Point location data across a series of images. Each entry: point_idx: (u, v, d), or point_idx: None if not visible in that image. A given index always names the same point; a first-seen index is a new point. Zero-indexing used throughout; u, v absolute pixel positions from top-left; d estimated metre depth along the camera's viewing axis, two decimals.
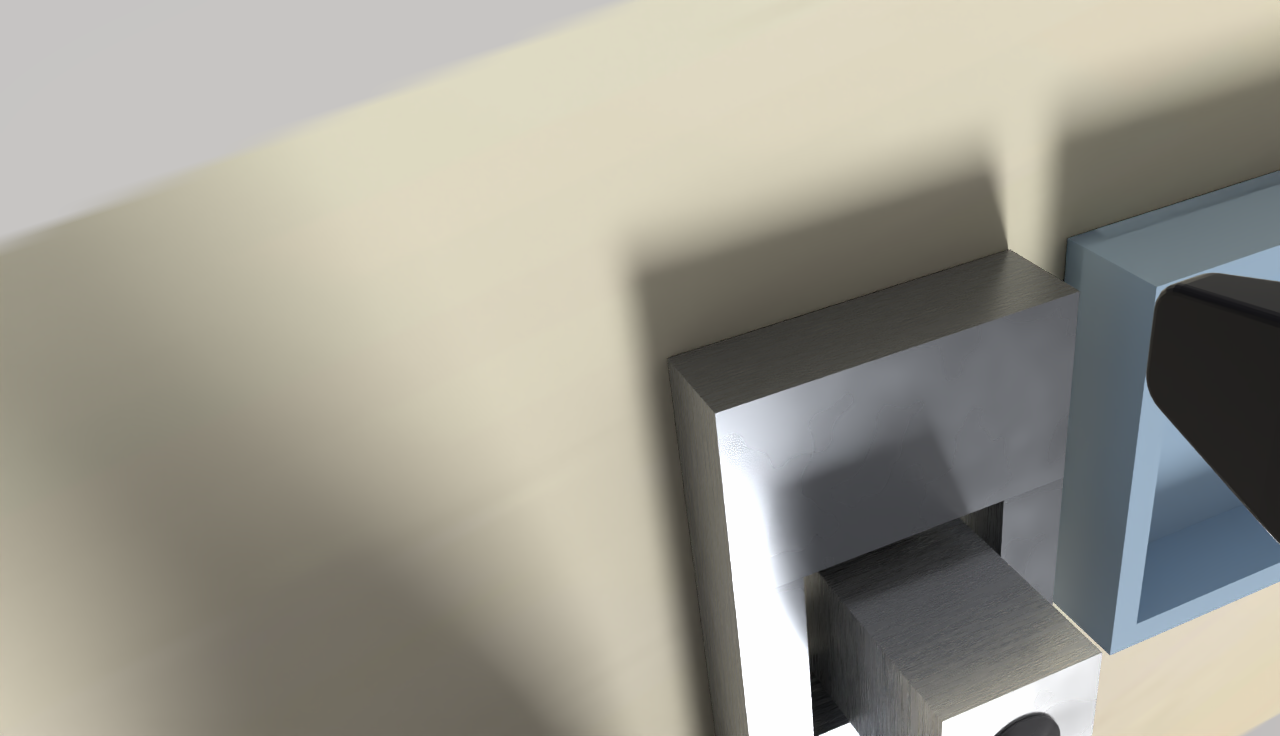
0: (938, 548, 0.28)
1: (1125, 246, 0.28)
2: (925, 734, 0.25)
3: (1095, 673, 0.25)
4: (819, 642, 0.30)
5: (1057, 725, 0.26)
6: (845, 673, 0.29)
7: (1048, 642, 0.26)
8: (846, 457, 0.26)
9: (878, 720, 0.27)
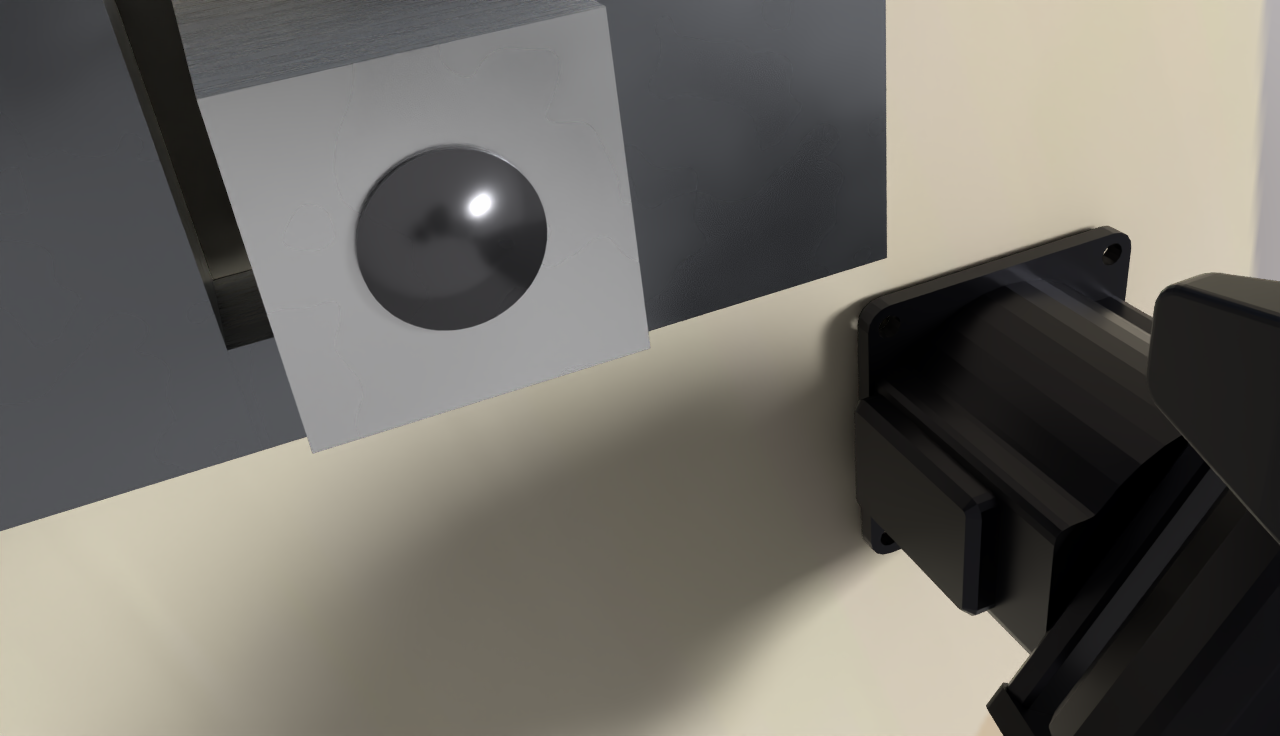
0: None
1: None
2: None
3: (264, 96, 0.11)
4: None
5: (402, 164, 0.12)
6: None
7: None
8: None
9: None
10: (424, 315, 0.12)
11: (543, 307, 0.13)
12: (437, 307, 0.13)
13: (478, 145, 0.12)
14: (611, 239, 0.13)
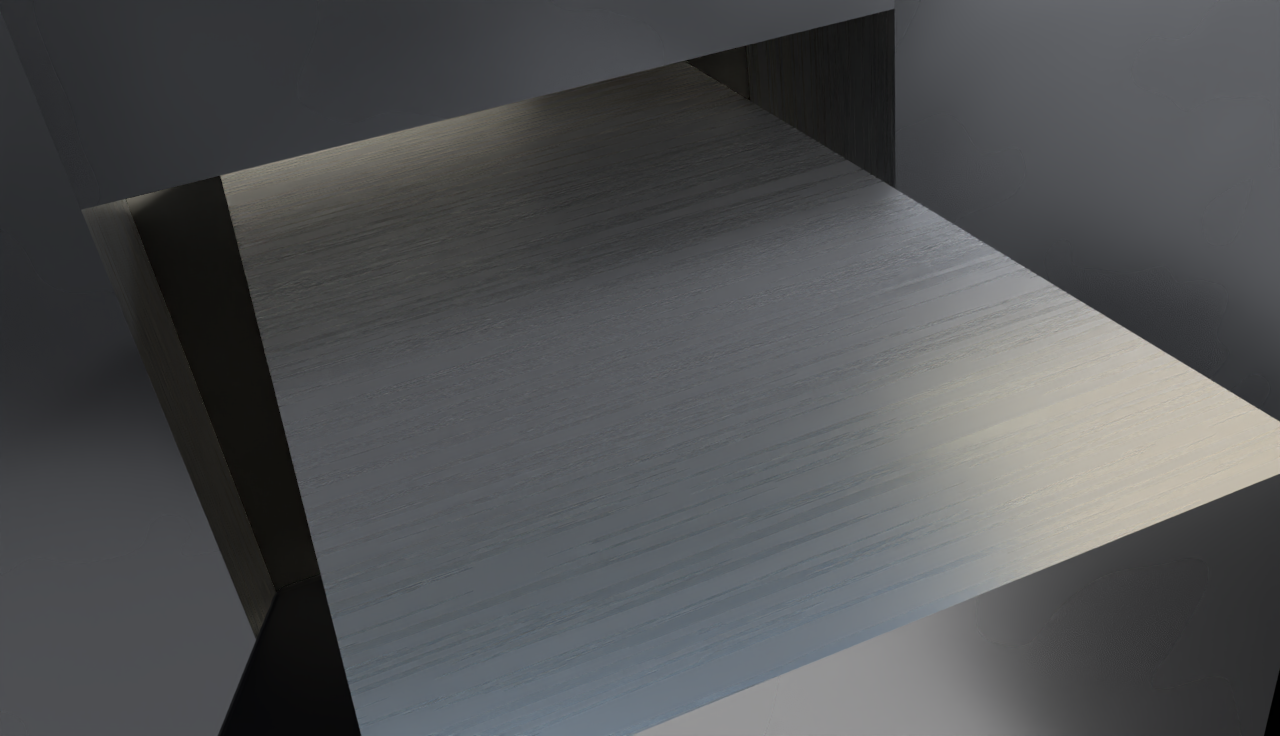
0: None
1: None
2: None
3: None
4: None
5: None
6: None
7: None
8: None
9: None
10: None
11: None
12: None
13: None
14: None
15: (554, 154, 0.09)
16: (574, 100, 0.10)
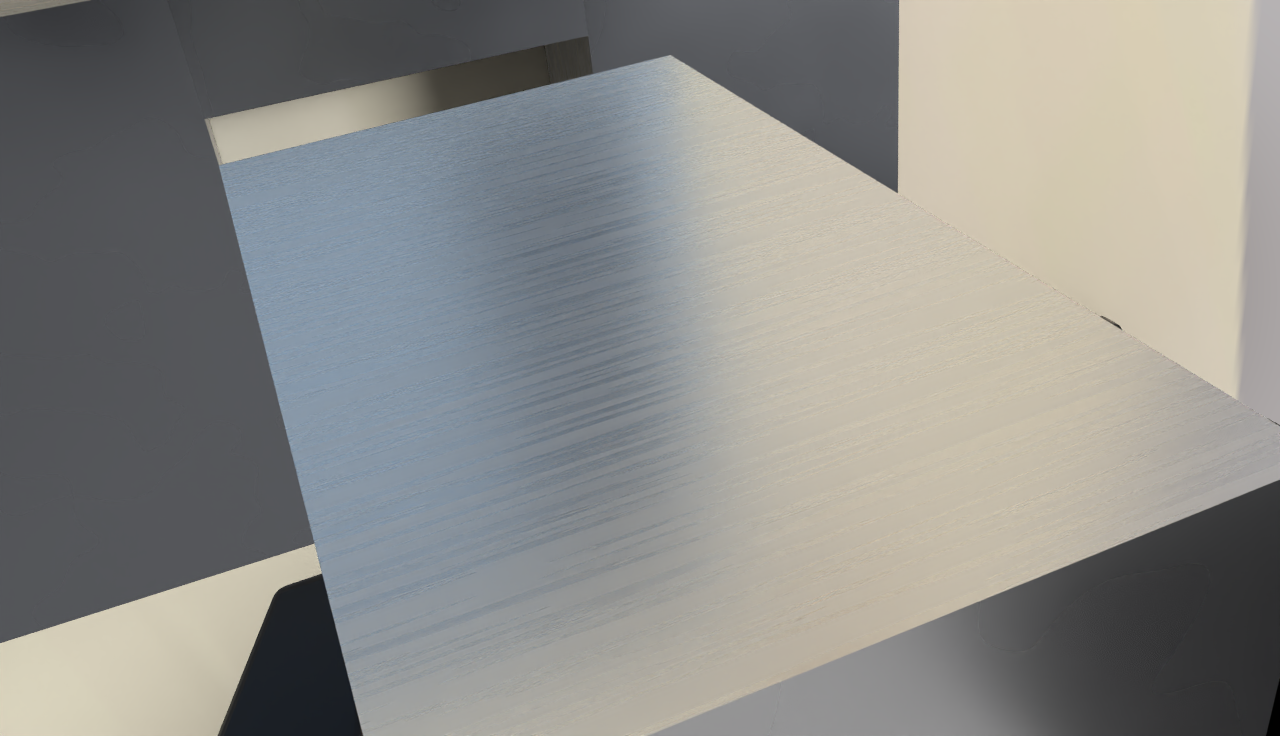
0: None
1: None
2: None
3: None
4: None
5: None
6: None
7: None
8: (85, 443, 0.17)
9: None
10: None
11: None
12: None
13: None
14: None
15: (555, 157, 0.09)
16: (576, 102, 0.10)
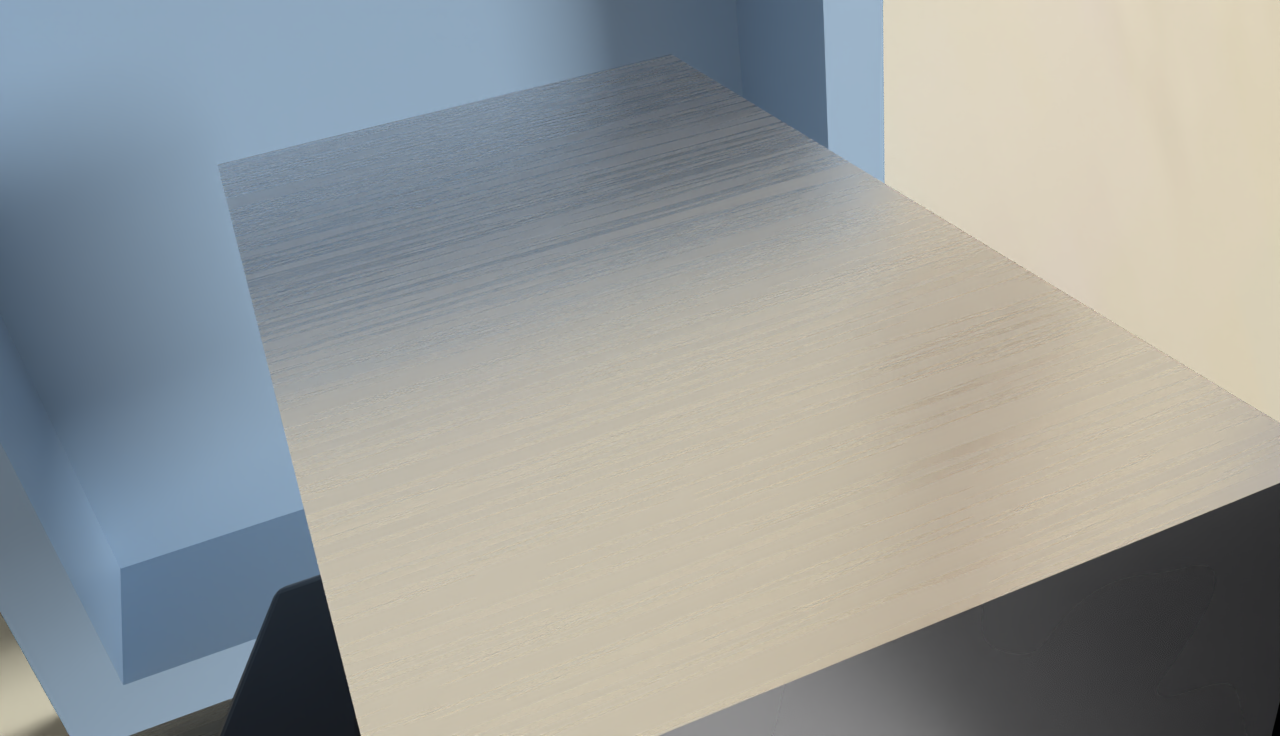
0: None
1: None
2: None
3: None
4: None
5: None
6: None
7: None
8: None
9: None
10: None
11: None
12: None
13: None
14: None
15: (555, 156, 0.09)
16: (577, 101, 0.10)
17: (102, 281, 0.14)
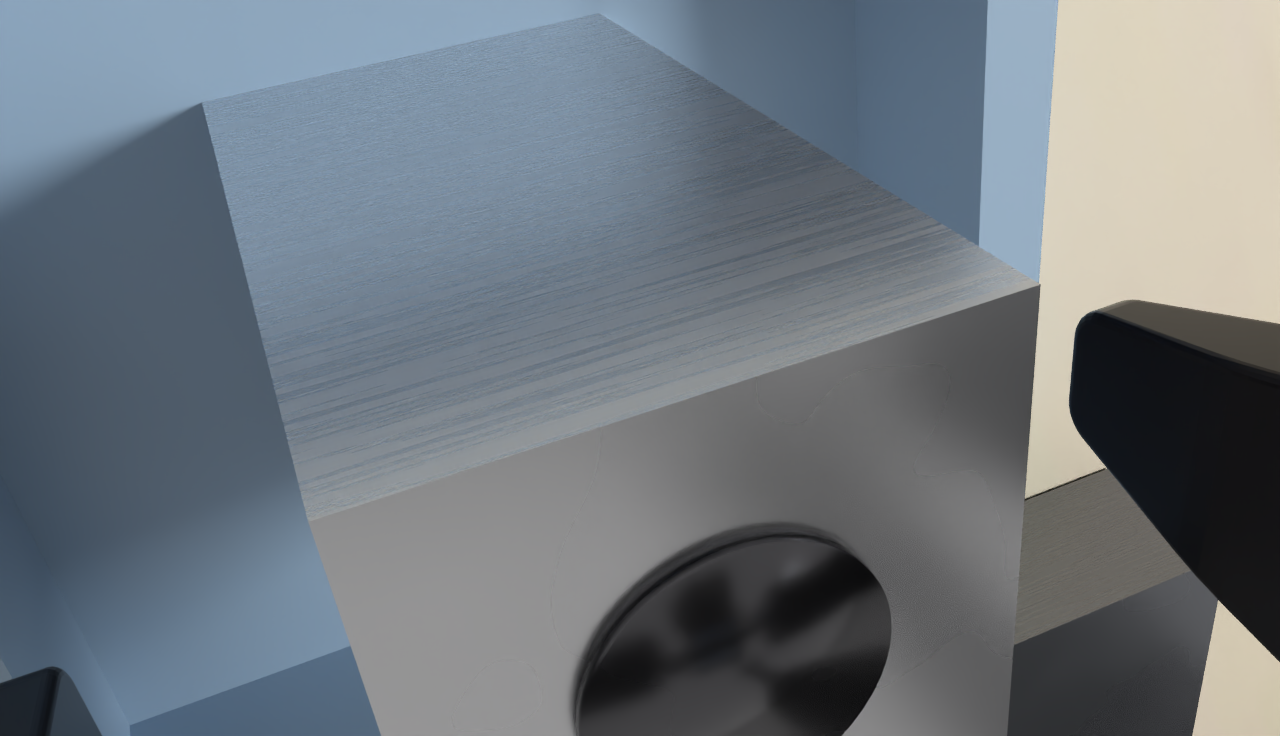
0: None
1: None
2: None
3: (436, 501, 0.06)
4: None
5: (671, 577, 0.06)
6: None
7: None
8: None
9: None
10: None
11: None
12: None
13: (799, 525, 0.07)
14: (978, 634, 0.08)
15: (488, 92, 0.10)
16: (512, 51, 0.11)
17: (109, 405, 0.12)
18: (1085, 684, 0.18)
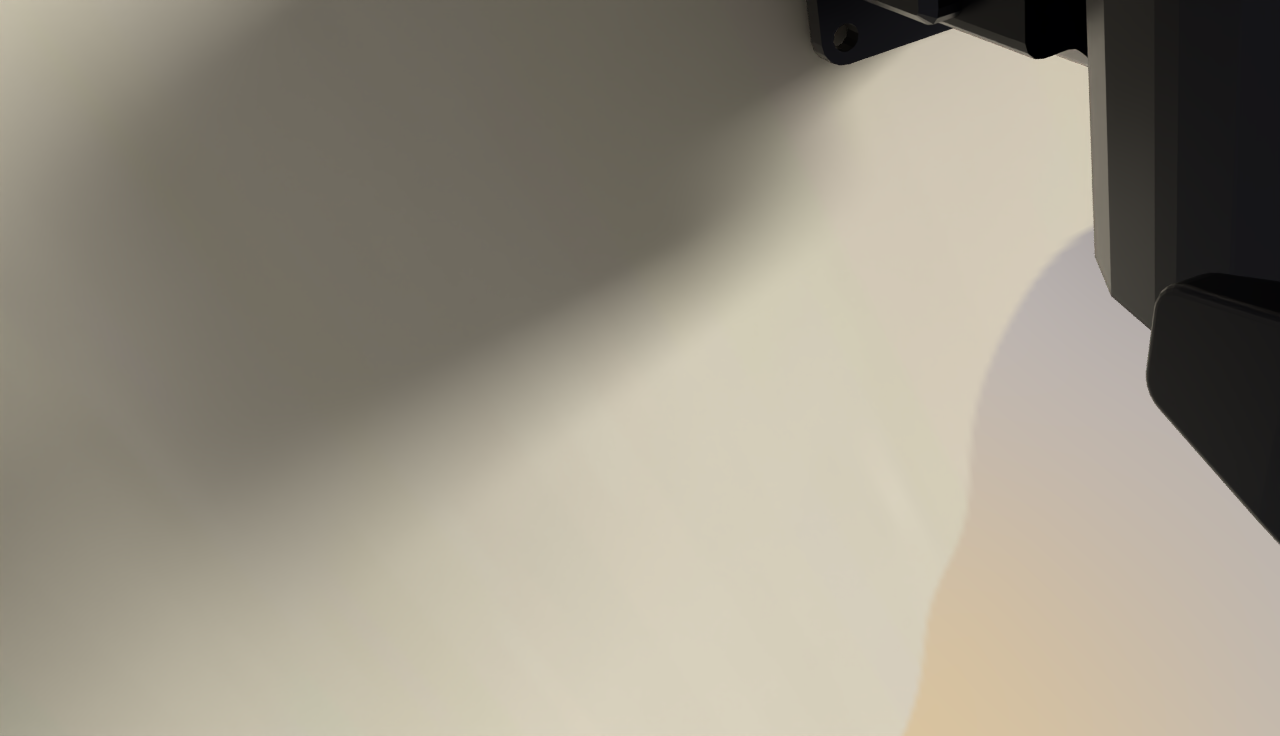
0: None
1: None
2: None
3: None
4: None
5: None
6: None
7: None
8: None
9: None
10: None
11: None
12: None
13: None
14: None
15: None
16: None
17: None
18: None
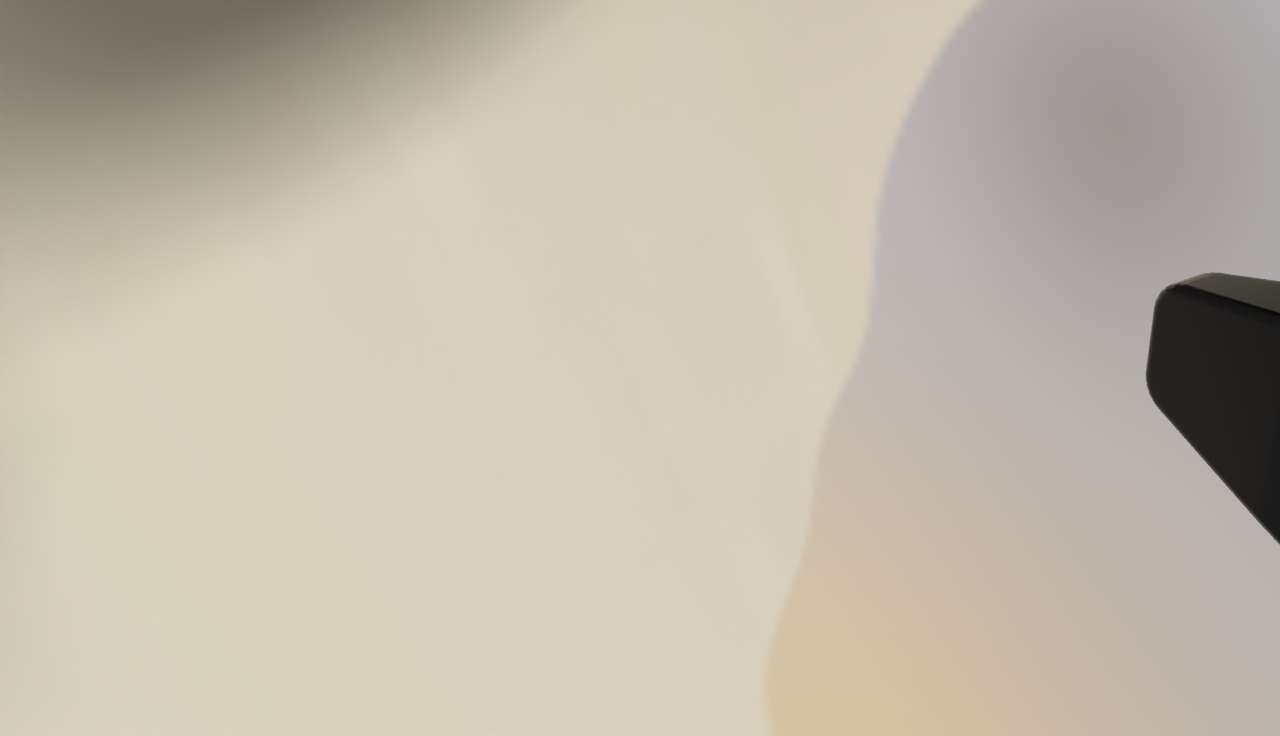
0: None
1: None
2: None
3: None
4: None
5: None
6: None
7: None
8: None
9: None
10: None
11: None
12: None
13: None
14: None
15: None
16: None
17: None
18: None
